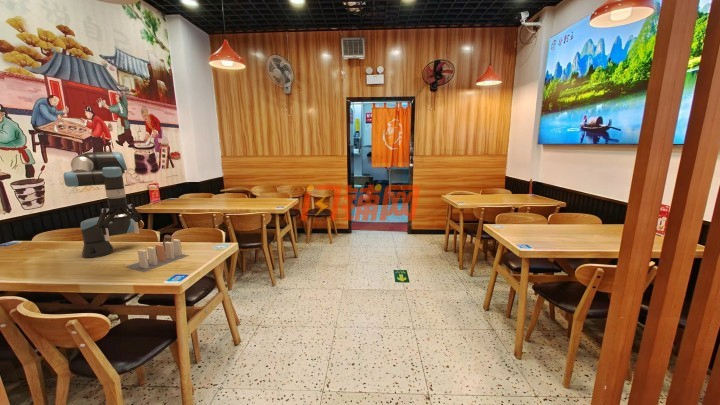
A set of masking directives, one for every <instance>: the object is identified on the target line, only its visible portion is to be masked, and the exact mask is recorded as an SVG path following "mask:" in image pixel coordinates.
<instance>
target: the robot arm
mask: <svg viewBox="0 0 720 405" xmlns="http://www.w3.org/2000/svg"><path fill="white" fill-rule="evenodd" d="M70 167H71V171H66V172H63V181H64V185H65V187H68V188H70V187H73V188H74V187H75V188H77V187H87V186H89V187H90V186H103V185H104V189H105V196H106V198H107V199H106V201H107V206H108V208H101V209H100V215H99V216H96V217H91V218H87V219H85V220H83V221H81V222H80V232H81V234H82V241H83V247H82V252H81V255H82V258H83V259H92V258H99V257H103V256H107V255H110V254H112V253H114V252H115V251H114V247H113V246H112V245H113V244H111V238H110V237H112V236H119V235H120V236H121V235H126V234H130V233H134V234H136V235H137V234H138V235H139V234H140V229H139V228H140V227H141V224H140V222H141V221H142V220H143V219H144V218H143V216H142V215H141V214H140V213H139V211H138V210H137V209H136V207H135V204H132V203H130V204H127V196H126V190H125V183H124V175H125V173H126V171H127V170H128V167H127V164H126V161H125V157H124V155H123V153H122V152H119V151H98V152H97V151H95V152H94V151H92V152H91V151H90V152H89V151H87V152H84V153H81V154H78V155H75V156H74V157H73V158H72V159H71V161H70ZM129 209H130V211H131V212H130V211H129ZM108 212H109V213H108ZM107 213H108V215H107ZM132 213H133V214H132ZM106 216H107V217H106Z"/></svg>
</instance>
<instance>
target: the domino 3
mask: <svg viewBox="0 0 720 405" xmlns="http://www.w3.org/2000/svg"><path fill="white" fill-rule="evenodd" d="M161 244H162V243H158V244H155V247H156V250H157V257H158V261H161V262H165V261H166V256H165V253H166V251H165V248H164V245H163V244H162V245H161Z"/></svg>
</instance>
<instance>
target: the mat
mask: <svg viewBox="0 0 720 405" xmlns="http://www.w3.org/2000/svg"><path fill="white" fill-rule="evenodd" d="M165 256H166V252H165ZM186 257H190V255H189V254H188V255H187V254H184V253H182V256H176V255H174V259H169V258H166V261H165V262H161V261H158V257H157V262H158V264H157V265H152V264H149V258H147V259H148V266H149V268H142V267H140V263H139V261H138V262H134V263H132V264H130V265H126V266H124V268H125V269H130V270H135V271H138V272H141V273H146V272H149V271H152V270H154V269H156V268H160V267H162V266H166V265H168V264H171V263H173V262H176V261H178V260H181V259H184V258H186Z"/></svg>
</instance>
